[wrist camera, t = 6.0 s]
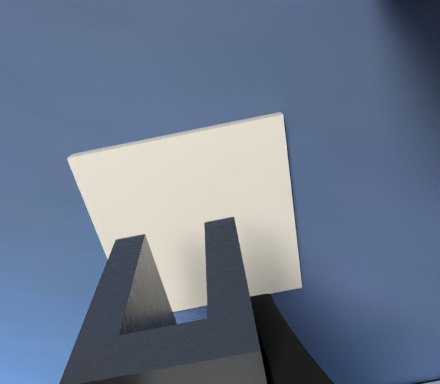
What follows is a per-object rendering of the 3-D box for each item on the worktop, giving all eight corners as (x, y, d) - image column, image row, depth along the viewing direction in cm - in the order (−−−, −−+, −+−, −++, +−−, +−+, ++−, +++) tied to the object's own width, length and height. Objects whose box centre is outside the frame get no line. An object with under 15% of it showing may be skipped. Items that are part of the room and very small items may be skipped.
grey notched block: (234, 216, 11) (260, 350, 6) (261, 355, 14) (292, 510, 9) (115, 239, 11) (57, 387, 6) (169, 371, 14) (156, 533, 9)
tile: (280, 112, 15) (283, 114, 15) (299, 280, 19) (302, 287, 19) (71, 154, 15) (67, 158, 15) (134, 311, 19) (131, 319, 19)
